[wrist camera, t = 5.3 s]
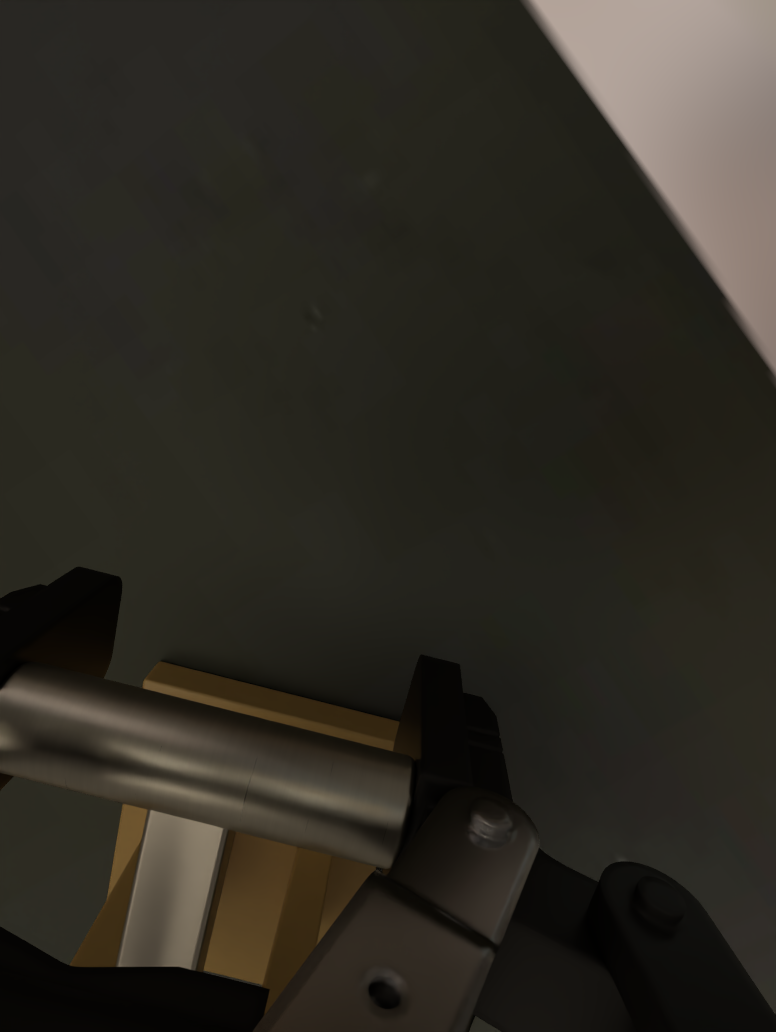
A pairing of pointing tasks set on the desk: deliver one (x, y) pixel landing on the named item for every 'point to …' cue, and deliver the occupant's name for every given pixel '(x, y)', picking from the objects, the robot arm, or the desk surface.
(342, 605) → the desk surface
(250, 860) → the bracket
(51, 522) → the desk surface
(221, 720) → the lever
